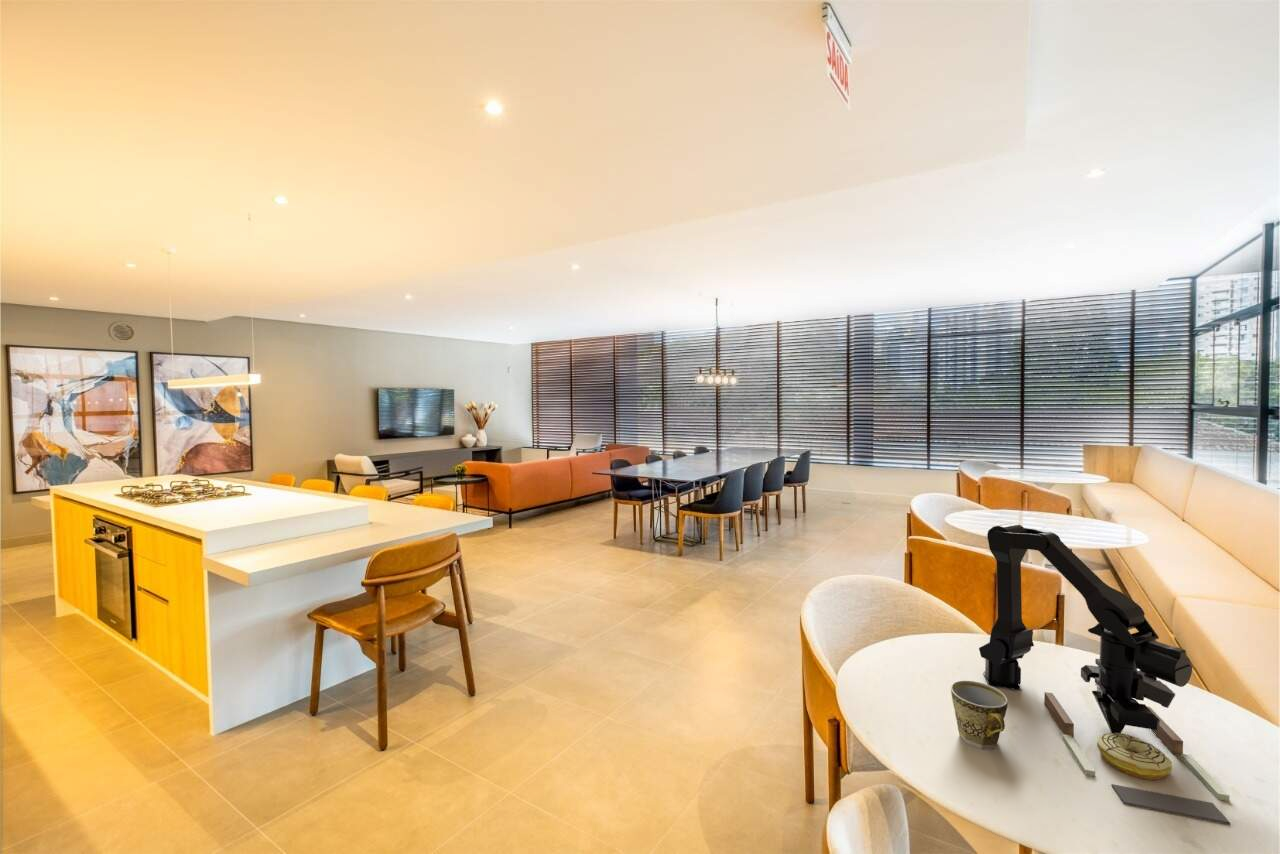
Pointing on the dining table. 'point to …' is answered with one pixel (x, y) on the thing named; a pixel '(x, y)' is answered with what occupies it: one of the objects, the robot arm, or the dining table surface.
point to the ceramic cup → (979, 713)
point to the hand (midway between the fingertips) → (1115, 734)
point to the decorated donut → (1134, 756)
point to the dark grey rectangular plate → (1170, 804)
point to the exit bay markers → (1187, 759)
